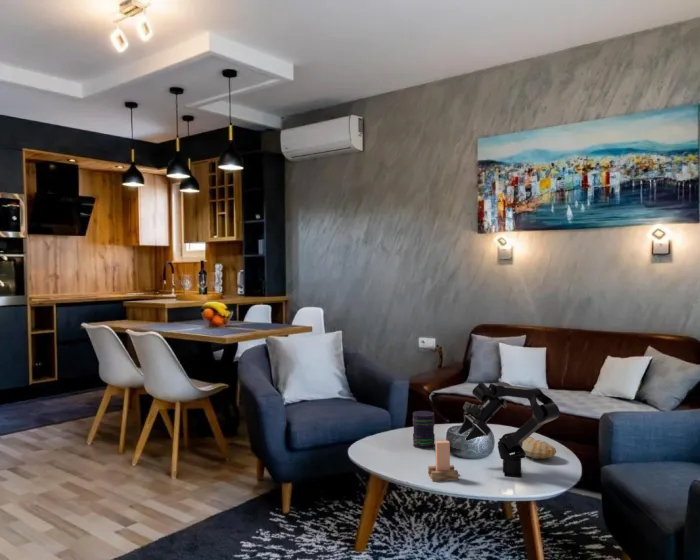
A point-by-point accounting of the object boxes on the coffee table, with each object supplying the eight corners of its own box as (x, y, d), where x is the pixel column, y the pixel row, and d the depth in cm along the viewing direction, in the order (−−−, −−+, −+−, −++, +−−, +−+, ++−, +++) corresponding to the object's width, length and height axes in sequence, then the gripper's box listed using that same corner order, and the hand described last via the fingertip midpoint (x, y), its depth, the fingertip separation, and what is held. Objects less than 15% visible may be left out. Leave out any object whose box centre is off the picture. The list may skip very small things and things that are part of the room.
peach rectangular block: (448, 473, 223) (448, 440, 223) (450, 475, 220) (449, 442, 220) (435, 474, 222) (435, 441, 222) (437, 476, 220) (436, 443, 220)
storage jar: (432, 442, 266) (431, 410, 265) (437, 448, 256) (436, 415, 256) (411, 442, 265) (410, 411, 265) (415, 449, 255) (414, 416, 255)
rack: (452, 472, 226) (452, 464, 226) (458, 480, 218) (458, 472, 218) (428, 473, 225) (428, 465, 225) (432, 481, 217) (432, 473, 217)
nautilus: (511, 448, 256) (546, 450, 255) (522, 461, 235) (559, 464, 233) (512, 430, 256) (546, 432, 255) (522, 442, 235) (560, 444, 234)
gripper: (468, 390, 240) (442, 417, 239) (482, 401, 221) (454, 430, 221) (486, 408, 241) (461, 434, 240) (502, 420, 222) (474, 449, 222)
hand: (462, 436), depth 231 cm, fingers open, 9 cm apart
